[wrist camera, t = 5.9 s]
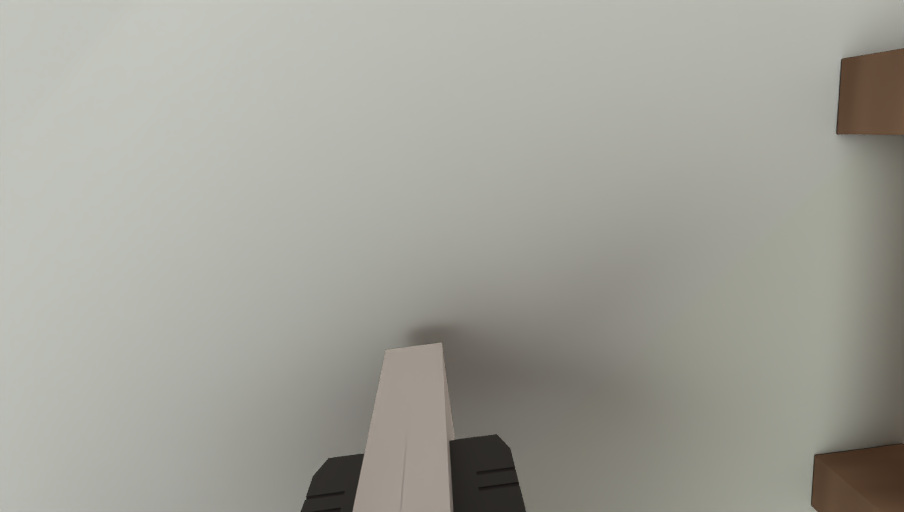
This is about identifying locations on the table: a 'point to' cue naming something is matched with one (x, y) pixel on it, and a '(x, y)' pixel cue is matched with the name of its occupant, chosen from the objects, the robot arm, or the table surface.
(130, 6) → the table surface
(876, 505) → the bridge
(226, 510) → the table surface
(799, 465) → the table surface
